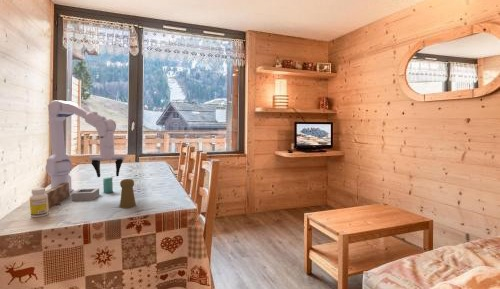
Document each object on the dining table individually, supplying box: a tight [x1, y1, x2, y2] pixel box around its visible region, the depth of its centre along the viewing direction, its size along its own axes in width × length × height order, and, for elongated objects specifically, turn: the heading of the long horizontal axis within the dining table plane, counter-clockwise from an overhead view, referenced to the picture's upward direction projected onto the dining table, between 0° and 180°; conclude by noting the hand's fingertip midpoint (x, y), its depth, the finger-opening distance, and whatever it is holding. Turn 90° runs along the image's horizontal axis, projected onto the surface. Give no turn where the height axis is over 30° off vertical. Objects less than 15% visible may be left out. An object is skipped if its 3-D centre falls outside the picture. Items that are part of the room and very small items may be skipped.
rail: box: [45, 183, 70, 209], centre depth 124 cm, size 22×2×6 cm, turn 12°
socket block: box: [71, 187, 100, 201], centre depth 131 cm, size 9×9×4 cm
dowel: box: [102, 176, 114, 194], centre depth 142 cm, size 4×4×7 cm
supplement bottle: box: [29, 187, 50, 218], centre depth 106 cm, size 5×5×10 cm
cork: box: [119, 178, 137, 209], centre depth 118 cm, size 6×6×11 cm
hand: (108, 176), depth 132 cm, fingers open, 7 cm apart
